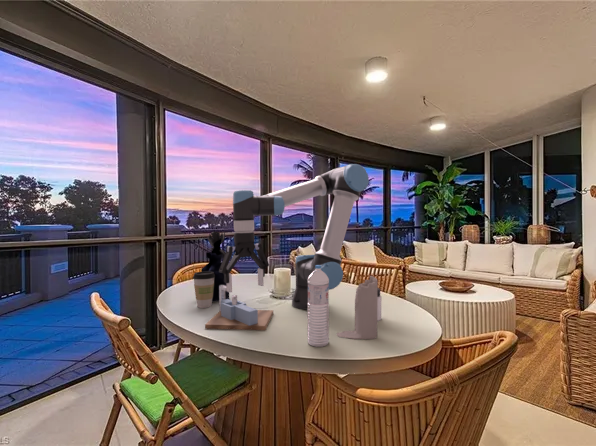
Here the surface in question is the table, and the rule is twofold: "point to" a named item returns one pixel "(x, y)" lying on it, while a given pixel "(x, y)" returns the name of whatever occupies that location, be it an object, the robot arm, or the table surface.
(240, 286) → the table surface
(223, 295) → the bracket
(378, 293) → the jar
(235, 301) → the pintle
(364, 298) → the metal bookend
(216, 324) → the board
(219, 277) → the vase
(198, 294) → the coffee cup
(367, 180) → the robot arm
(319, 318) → the water bottle
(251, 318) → the link
